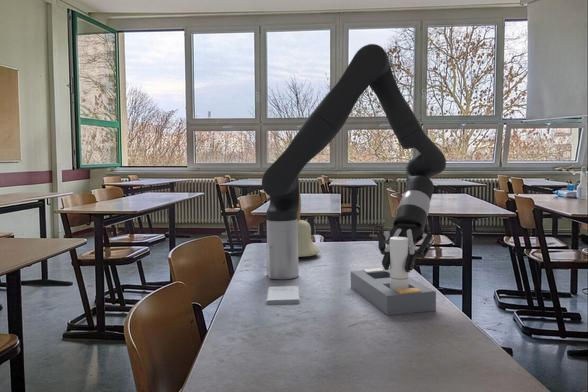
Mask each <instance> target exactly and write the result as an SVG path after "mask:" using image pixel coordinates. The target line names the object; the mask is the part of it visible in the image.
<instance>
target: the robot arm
mask: <svg viewBox="0 0 588 392" xmlns="http://www.w3.org/2000/svg"><path fill="white" fill-rule="evenodd" d="M394 76H395V75H394V73H393V70H392V67H391V64H390V58H389V56H388V54H387V52H386V51H385V49H384V48H383V47H382V46H381V45H380V44H376V43H368V44H365V45H363V46H361V47H360V48H359V49H358V50H357V51H356V52H355V53H354V55H353V57H352V59H351V60H350V62H349V64H348V65H347V67H346V69H345V70H344V72H343V74H342V75H341V77H340V78H339V80H338V81H337V82H336V83H335V85H334V86H333V87H332V88H331V89H330V90H329V91H328V93H327V94H326V95H325V96H324V97H323V98H322V100H321V101H320V102H319V103H318V105H317V106H316V107H315V108H314V110H313V111H312V112H311V113H310V115H309V116H308V118H307V119H306V120H305V122H304V123H303V125H302V126H301V127H300V129H299V130H298V131H297V133H296V134H295V135H294V137H293V139H292V140H291V142H289V144H288V146H287V148H286V149H285V150H284V151H283V152H282V153H281V154H280V155H279V157H277V159H275V161H273V162H272V164H271V165H270V166H269V167H268V168H267V169H266V170H265V171H264V173H263V175H262V179H261V188H262V190H263V192H264V193H265V195H267V196H269V206H268V208H267V209H266V213H265V215H266V218H265V219H266V242H267V243H266V244H265V254H266V257H265V259H266V275H267V277H268V278H269V280H290V279H295V278H297V277H299V275H300V274H299V272H300V271H299V257H298V227H297V213H298V209H299V188H300V181H299V175H300V174H301V172H302V170H303V169H304V167H306V166H307V164H308V163H309V162H310V161H311V160H312V159H314V158H315V157H317V155H319V154H320V153H321V152H322V150H324V149H325V148H326V147H328V145H329V144H330V143H331V142H332V141H333V140H334V138H335V137H336V136H337V134H338V133H339V132H340V130H341V129H343V127H344V125H345V124H346V122H347V120H348V119H349V116H350V115H351V113H352V110H353V108H354V106H355V105H356V103H357V101H358V99H360V97H361V96H362V95H363V93H364V92H365V91H366V90H367V88H369V87H370V89H371V90H372V91H373V92H374V94H375V95H376V97H377V99H378V101H379V102H380V105H381V106H382V107H381V108H382V110H383V111H384V114H385V116H386V119H387V121H388V124H389V125H390V128H391V130H392V131H393V134H394V136H395V137H396V139H397V141H398V143H399V144H400V146H401V148H402V149H404V150H411V149H415V150H416V151H418V152H419V154H417V155H414V156H413V157H411V158H410V159H409V161H407V164H406V169H405V170H406V172H405V176H406V177H405V179H406V186H405V188H404V192H403V195H402V196H401V199H400V202H399V204H398V208H397V210H396V213H395V217H394V220H393V225H392V227H391V228H390V229H389V230H387V231H384V230H383V229H379V230H378V241H377V242H378V246H377V247H378V249H379V252H380V254H381V255H382V256H383V258H382V260H381V265H382V266H383V268H384V269H385V270H389V268H390V240H388V239H389V238H391V237H407V238H408V253H409V254H408V257H407V260H406V264H405V271H406V272H408V274H410V272H411V271H413V270H414V266H415V263H416V260H417V259H419V258H420V259H424V258H425V257H426V256H427V254H428V253H429V251H430V249H431V247H432V246H433V244H434V242H435V239H434V236H433V233H431V232H429V233H424V230H425V227H426V224H427V223H426V222H427V219H428V216H429V213H430V208H431V207H430V205H431V202H432V201H431V200H432V197H433V192H434V187H435V186H434V183H433V181H432V180H431V179H430V178H432V177H434V176H437V175H438V174H441V173H442V172H444V171H445V170H446V165H447V160H446V157H445V154H444V152H443V151H442V150H441V149H440V148H439V146H437V145H436V143H434V141H433V140H432V139H431V138H430V137H429V136H428V135H427V134H426V133H425V131H424V130H423V127H422V126H421V124H420V122H419V121H418V120H419V119H418V118H417V116H416V115H415V113H414V111H413V109H412V108H411V107H410V105H409V103H408V102H407V100H406V99H405V96H404V95H403V93H402V92H401V90H400V88H399V85H398V84H397V81H396V78H395V77H394ZM387 241H388V244H387ZM421 241H422V242H421ZM419 242H421V244H420V246H419V247H418V249H417V246H416V245H417V244H418V243H419ZM386 245H387V246H386Z"/></svg>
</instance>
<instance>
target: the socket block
mask: <svg viewBox="0 0 588 392" xmlns="http://www.w3.org/2000/svg"><path fill="white" fill-rule="evenodd" d="M350 288H351V289H352V290H354V291H355V292H356V293H357V294H358V295H360V296H362V297H363V298H364V299H365V300H367V302H369V303H371V304H372V305H373V306H374V307H375V308H377V309H378V310H379V311H380V312H382V313H383V314H385V316H387V317H388V316H397V315H404V314H405V315H406V314H413V313H414V314H416V313H424V312H434V311H437V294H436V293H437V291H436V290H434V289H433V288H430V287H429V286H427V285H425V284H423V283H421V282H420V281H417V280H415V279H414V278H413V277H410V276H408V288H406V289H395V290H391V289H390V267H389V270H385V269H384V267H383V268H382V267H377V268H366V269H365V268H364V269H360V270H351V271H350Z"/></svg>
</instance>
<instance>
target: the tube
mask: <svg viewBox="0 0 588 392" xmlns="http://www.w3.org/2000/svg"><path fill="white" fill-rule="evenodd" d="M389 241H390V266H389V268H390V289H391V290H395V289H406V288H408V277H409V273H408V272H406V271H405V264H406V260H407V257H408V255H409V248H408V238H407V237H391V236H390V237H389Z"/></svg>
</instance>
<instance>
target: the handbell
mask: <svg viewBox="0 0 588 392" xmlns="http://www.w3.org/2000/svg"><path fill="white" fill-rule="evenodd" d="M300 189H301V188H300V187H299V209H298V213H297V227H298V258H299V257H301V258H302V257H311V256H315V255H318V254H319V253H320V252H321V250H320V248H319V247H318V246H317V245H316V244H315V243H314V242H313V239H312V228H311V225H310V223H309V222H308V221H307V220H303V219H301V212H302V211H301V210H302V209H301V208H302V199H301V190H300Z"/></svg>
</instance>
